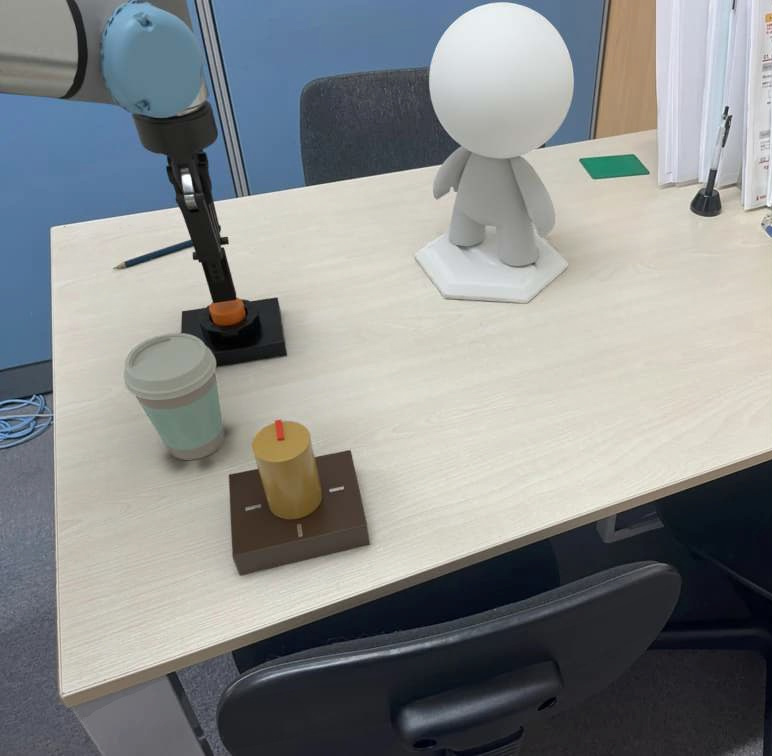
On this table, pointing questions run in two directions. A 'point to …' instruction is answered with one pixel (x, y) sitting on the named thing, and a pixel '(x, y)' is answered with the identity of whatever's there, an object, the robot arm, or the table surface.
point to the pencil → (155, 254)
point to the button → (227, 312)
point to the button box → (240, 333)
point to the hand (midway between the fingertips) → (224, 298)
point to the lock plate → (296, 536)
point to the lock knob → (288, 469)
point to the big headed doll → (497, 152)
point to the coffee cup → (178, 392)
